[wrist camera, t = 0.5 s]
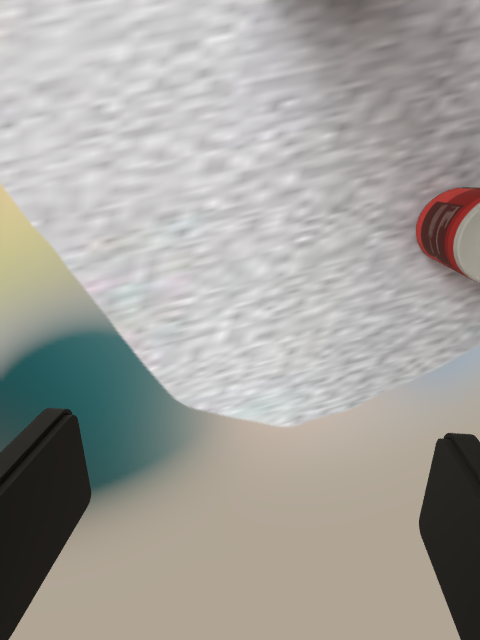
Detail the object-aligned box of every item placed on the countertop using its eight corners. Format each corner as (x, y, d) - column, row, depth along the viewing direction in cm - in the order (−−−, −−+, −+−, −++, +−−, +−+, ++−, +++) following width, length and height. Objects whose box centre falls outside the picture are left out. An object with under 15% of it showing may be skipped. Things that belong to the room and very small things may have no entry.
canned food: (505, 231, 40) (581, 249, 30) (435, 274, 43) (483, 304, 32) (471, 170, 39) (539, 166, 28) (399, 218, 41) (439, 231, 31)
